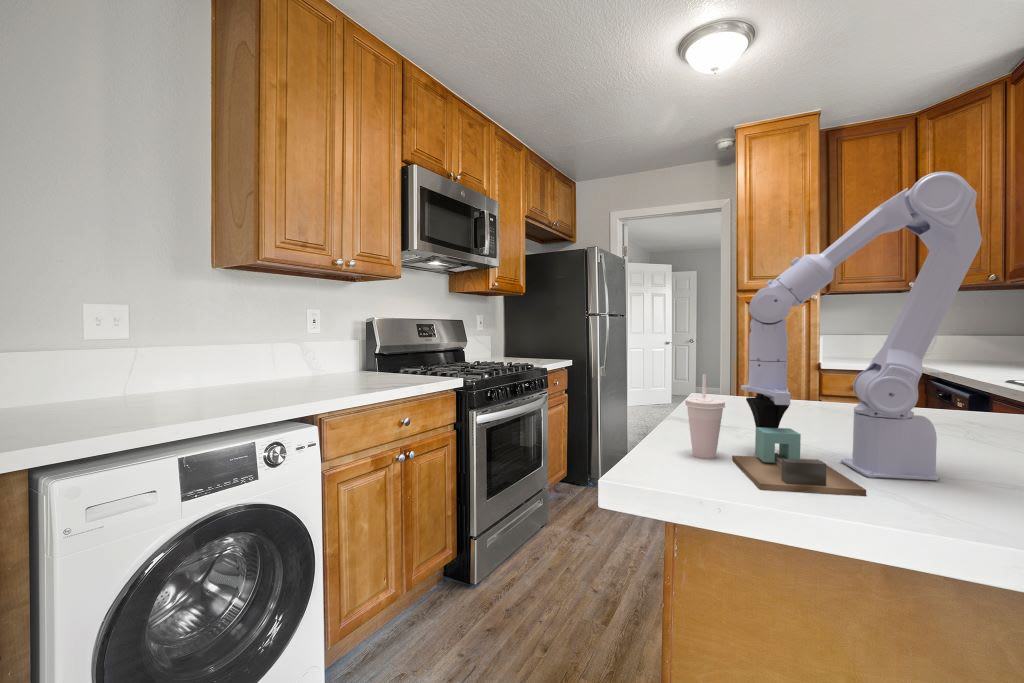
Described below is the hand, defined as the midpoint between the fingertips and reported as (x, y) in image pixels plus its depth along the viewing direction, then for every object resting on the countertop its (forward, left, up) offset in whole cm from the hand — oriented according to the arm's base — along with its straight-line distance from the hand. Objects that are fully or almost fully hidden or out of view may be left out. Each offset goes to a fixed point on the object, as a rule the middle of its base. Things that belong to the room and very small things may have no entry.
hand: (766, 440), depth 79 cm
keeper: (0, +5, -2) cm, 5 cm away
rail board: (0, +9, -3) cm, 10 cm away
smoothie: (+10, 0, -3) cm, 11 cm away
